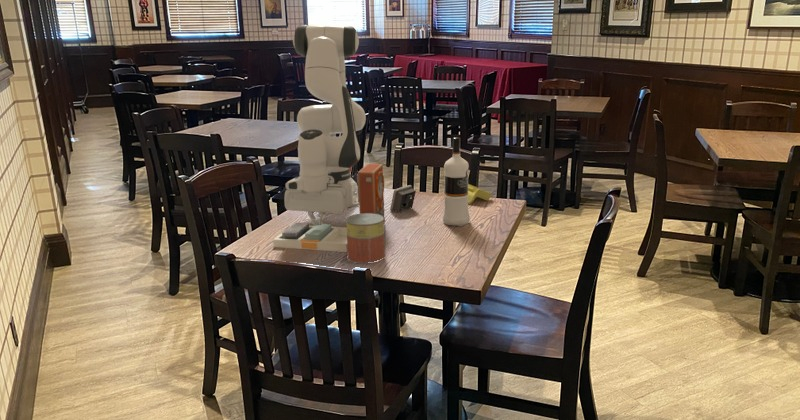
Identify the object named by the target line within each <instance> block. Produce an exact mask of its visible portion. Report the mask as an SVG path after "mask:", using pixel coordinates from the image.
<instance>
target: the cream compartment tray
mask: <svg viewBox="0 0 800 420" xmlns="http://www.w3.org/2000/svg"><path fill="white" fill-rule="evenodd" d="M315 226H316V225H310V224H309V231H310V230H311V229H312V228H313V227H315ZM290 227H291V226H289V227H288V228H290ZM331 229H332V231H331V232H330V233H329V234H328V235H327V236H326V237H324V238H323V239H322V240H321V241H320V240H310V239H305V234H306V233H307V232H308V231H307V232H306V233H305V234H304V235H302V236H301V237H300V238H299V239H297V240H296V239H283V237H282V233H283V232H284V231H286V230H287V229H284V231H282V232H281V233H280V234H277V236H275V237H274V238H273V239H272V240H273V241H272V243H273V244H272V245H273V248H282V249H283V248H285V249H298V250H299V249H300V250H311V251H312V250H313V251H327V252H340V253H341V252H342V253H346V254H348V247H347V228H346V227H345V226H344V227H343V226H342V227H341V226H331Z"/></svg>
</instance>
